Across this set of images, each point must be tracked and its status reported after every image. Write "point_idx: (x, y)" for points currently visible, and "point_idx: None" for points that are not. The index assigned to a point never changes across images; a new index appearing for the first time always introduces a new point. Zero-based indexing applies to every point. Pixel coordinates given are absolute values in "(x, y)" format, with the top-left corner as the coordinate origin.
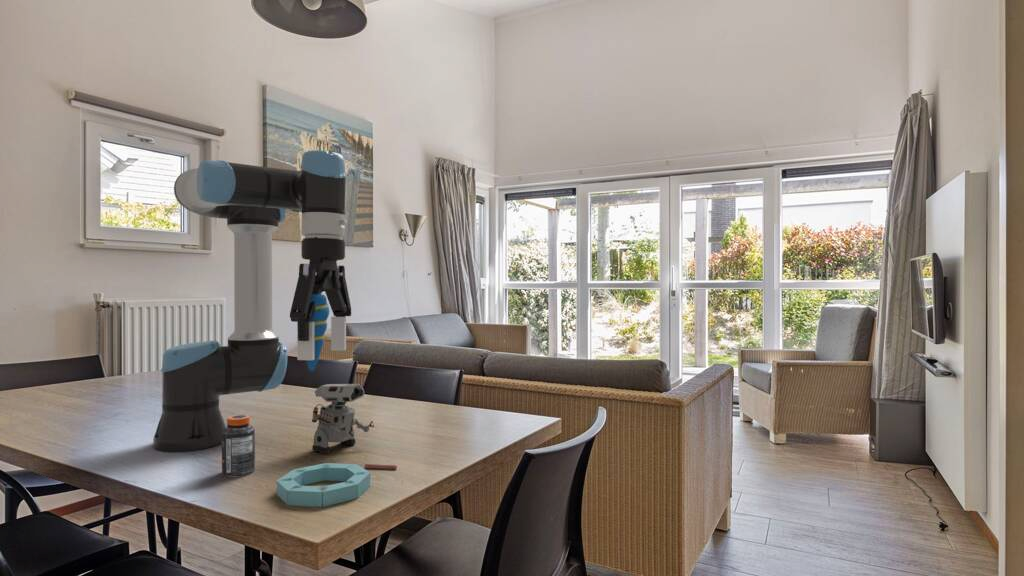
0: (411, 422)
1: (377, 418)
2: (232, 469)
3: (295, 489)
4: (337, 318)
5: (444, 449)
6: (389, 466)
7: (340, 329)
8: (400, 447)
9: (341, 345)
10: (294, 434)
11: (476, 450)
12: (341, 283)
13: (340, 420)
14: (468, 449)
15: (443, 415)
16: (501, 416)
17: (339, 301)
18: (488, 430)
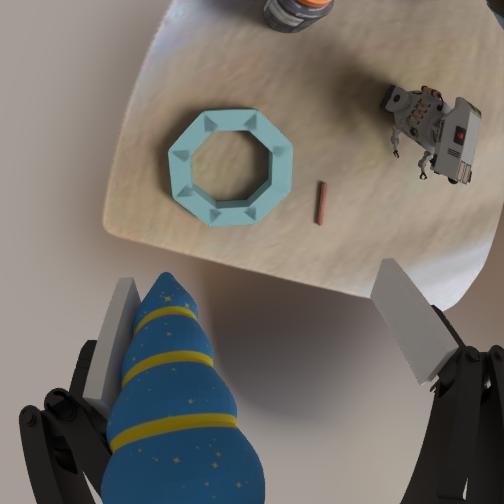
0: (481, 186)
1: (497, 142)
2: (265, 12)
3: (173, 159)
4: (432, 363)
5: (387, 252)
6: (318, 217)
7: (406, 338)
8: (402, 200)
9: (379, 300)
10: (451, 46)
11: None
12: (472, 492)
13: (414, 138)
14: None
15: (492, 214)
16: (472, 270)
17: (423, 448)
18: (437, 273)
